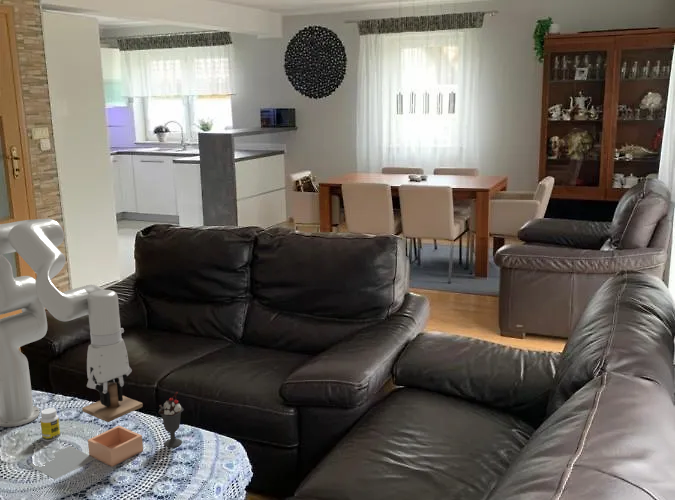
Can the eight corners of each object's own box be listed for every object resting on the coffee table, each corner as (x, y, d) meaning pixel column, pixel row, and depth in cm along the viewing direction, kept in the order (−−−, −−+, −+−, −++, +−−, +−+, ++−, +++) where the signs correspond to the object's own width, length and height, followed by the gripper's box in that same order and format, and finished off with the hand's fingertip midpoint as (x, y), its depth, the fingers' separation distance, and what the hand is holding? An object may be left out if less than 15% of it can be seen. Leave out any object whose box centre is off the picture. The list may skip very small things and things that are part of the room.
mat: (29, 465, 178) (28, 464, 178) (69, 447, 187) (69, 445, 187) (55, 480, 171) (54, 479, 171) (96, 460, 180) (95, 458, 180)
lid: (82, 411, 179) (79, 386, 177) (117, 396, 188) (115, 373, 186) (107, 422, 173) (105, 397, 171) (142, 406, 181) (140, 382, 180)
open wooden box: (89, 456, 182) (87, 439, 181) (120, 441, 190) (118, 425, 189) (112, 468, 176) (110, 450, 175) (143, 452, 184) (141, 435, 183)
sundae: (190, 440, 191) (187, 391, 187) (175, 451, 185) (171, 400, 181) (171, 435, 193) (168, 387, 190) (156, 446, 187) (152, 396, 184)
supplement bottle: (53, 442, 190) (50, 415, 188) (38, 441, 191) (35, 413, 189) (63, 434, 194) (61, 407, 192) (49, 433, 195) (46, 406, 193)
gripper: (123, 326, 184) (128, 388, 188) (69, 343, 171) (76, 410, 175) (141, 331, 180) (146, 395, 184) (87, 350, 167) (93, 418, 171)
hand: (112, 402), depth 180 cm, fingers closed on lid, 3 cm apart
